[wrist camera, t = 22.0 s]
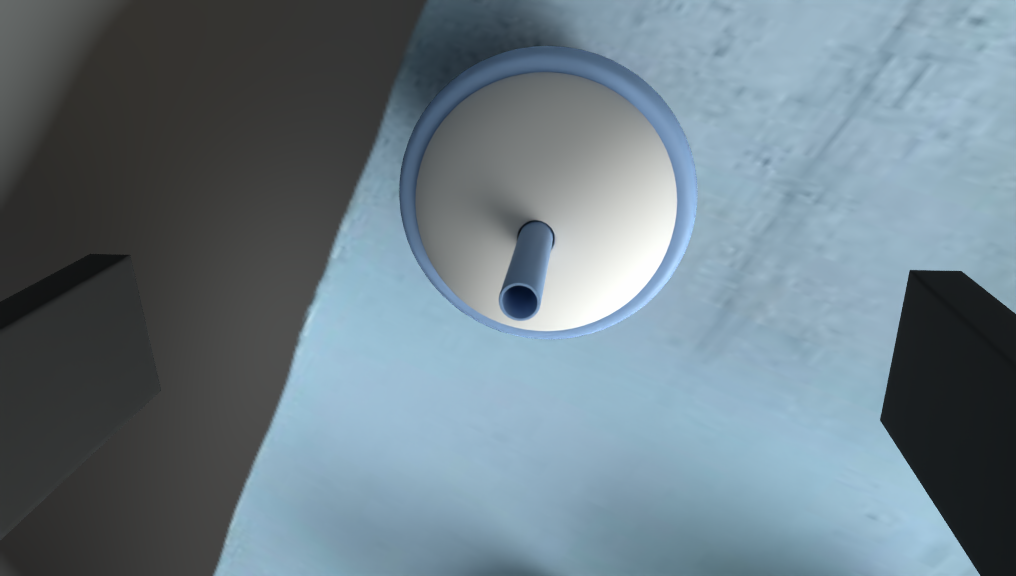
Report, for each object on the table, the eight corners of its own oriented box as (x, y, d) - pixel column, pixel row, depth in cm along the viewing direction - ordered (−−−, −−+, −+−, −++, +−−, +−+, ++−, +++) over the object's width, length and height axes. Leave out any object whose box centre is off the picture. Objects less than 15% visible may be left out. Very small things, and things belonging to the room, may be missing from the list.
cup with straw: (479, 254, 34) (366, 499, 18) (437, 51, 31) (252, 118, 14) (678, 226, 33) (760, 467, 16) (656, 10, 30) (728, 32, 13)
